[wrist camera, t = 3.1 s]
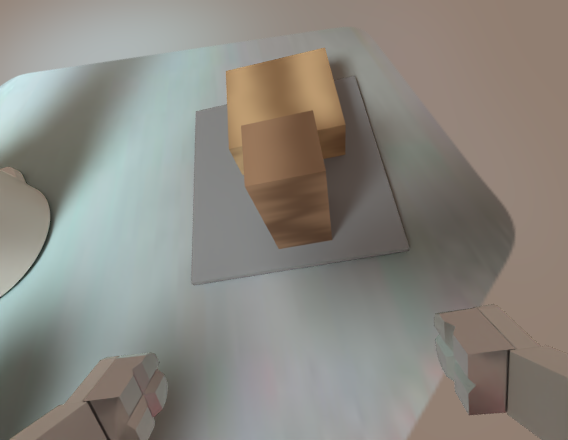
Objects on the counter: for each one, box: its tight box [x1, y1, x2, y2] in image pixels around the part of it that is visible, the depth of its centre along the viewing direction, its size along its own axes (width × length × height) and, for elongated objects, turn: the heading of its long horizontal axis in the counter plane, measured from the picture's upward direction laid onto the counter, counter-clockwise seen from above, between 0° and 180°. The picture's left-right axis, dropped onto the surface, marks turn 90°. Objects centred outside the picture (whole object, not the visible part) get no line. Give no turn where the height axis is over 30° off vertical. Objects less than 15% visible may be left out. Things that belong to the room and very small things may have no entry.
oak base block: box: [226, 48, 346, 175], centre depth 30 cm, size 10×10×4 cm
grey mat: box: [191, 76, 409, 285], centre depth 30 cm, size 18×20×1 cm
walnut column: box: [241, 110, 332, 249], centre depth 22 cm, size 4×4×10 cm
